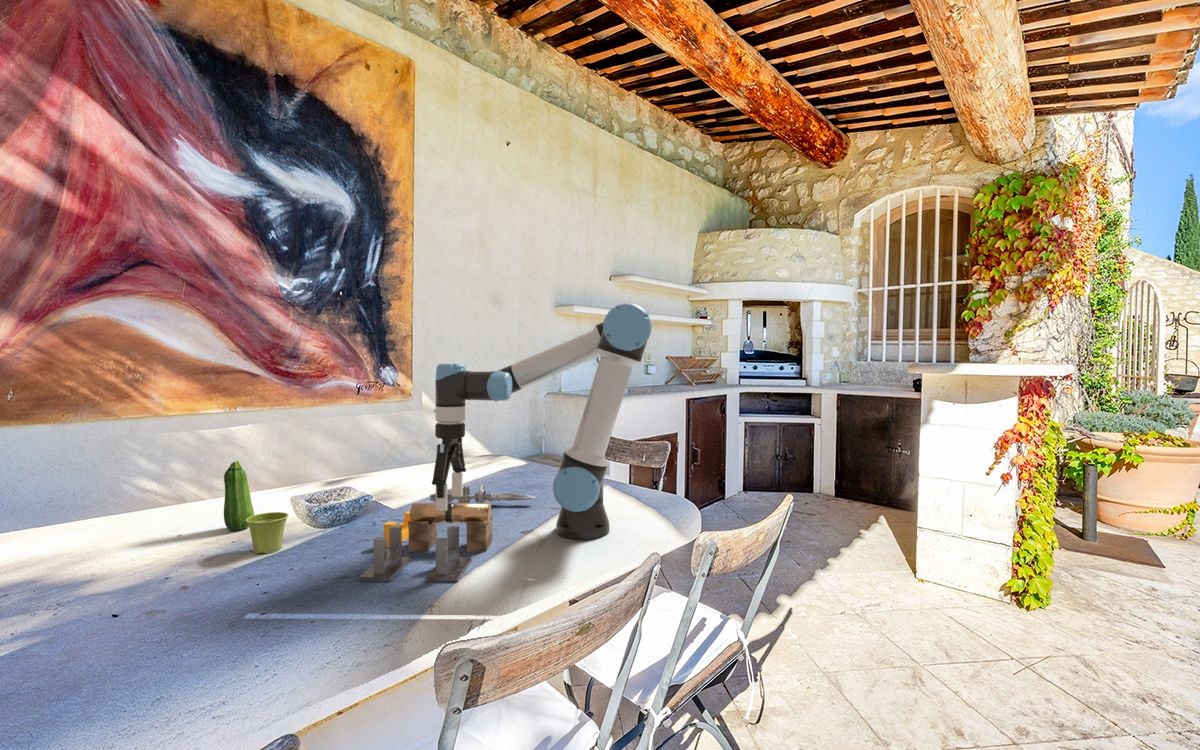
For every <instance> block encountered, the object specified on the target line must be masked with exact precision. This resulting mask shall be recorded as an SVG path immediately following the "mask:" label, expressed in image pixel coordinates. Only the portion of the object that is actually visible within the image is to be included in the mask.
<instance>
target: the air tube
mask: <svg viewBox="0 0 1200 750" xmlns="http://www.w3.org/2000/svg"><path fill="white" fill-rule="evenodd" d="M409 511H410V520H411V521H429V523H437V524H466V522H467V521H487V523H489V522H490V519H491V514H492V505H491V503H486V502H485V503H478V502H473V503H472V502H471V503H458V502H451V503H447V510H446V511H440V510H436V502H428V503H427V502H414V503H412V505H411V507H410V510H409Z"/></svg>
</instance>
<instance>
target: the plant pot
mask: <svg viewBox="0 0 1200 750" xmlns="http://www.w3.org/2000/svg"><path fill="white" fill-rule="evenodd" d="M288 518H289V513H288V512H285V511H284V512H283V511H271V512H270V511H269V512H265V513H264V512H263V513H257V514H254V515H253V516H251V517H248V518H247V519H246V522H247V523H248V526H249V527H248V528H249V531H250V532H249V533H250V536H251V544H252V549H253V553H255V554H261V553H264V554H270V553H275V552H277V551H279V550H280V549H282V546H283V540H284V531H285V525H286V523H287V519H288Z"/></svg>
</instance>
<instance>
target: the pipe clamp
mask: <svg viewBox="0 0 1200 750" xmlns="http://www.w3.org/2000/svg"><path fill="white" fill-rule="evenodd" d="M409 521H411V520H410V510H409V511H408V510H407V512H404V516H403V522H400V523H399V524H398V522H397V521H396V522H395V521H394V522H393V521H387V522H385V523H384V524H383V538H387V548H389V528H390V527H391V526H402V543H403V542H404V541H406V540H408V539H409V527H408V522H409Z"/></svg>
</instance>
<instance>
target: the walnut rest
mask: <svg viewBox="0 0 1200 750" xmlns="http://www.w3.org/2000/svg"><path fill="white" fill-rule="evenodd" d="M465 525H466V526H465V527H466V552H487V551H488V549H489V547H490V546H491V544H492V543H493V514H492V513H491V519H490V522H489V523H487V521H467V522H466V523H465ZM408 527H409V538H408V552H429V551H430V550H431V549H432V547H434V546H435V545H436V543H435V540H436V539H437V538H438V523H429V521H409V522H408Z"/></svg>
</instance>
